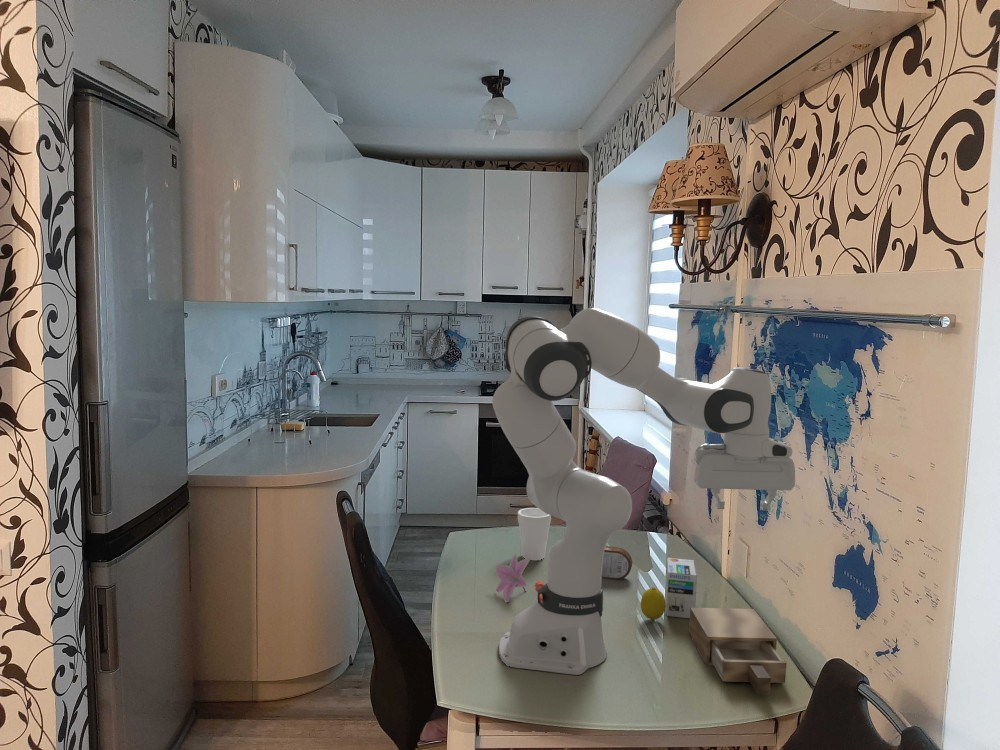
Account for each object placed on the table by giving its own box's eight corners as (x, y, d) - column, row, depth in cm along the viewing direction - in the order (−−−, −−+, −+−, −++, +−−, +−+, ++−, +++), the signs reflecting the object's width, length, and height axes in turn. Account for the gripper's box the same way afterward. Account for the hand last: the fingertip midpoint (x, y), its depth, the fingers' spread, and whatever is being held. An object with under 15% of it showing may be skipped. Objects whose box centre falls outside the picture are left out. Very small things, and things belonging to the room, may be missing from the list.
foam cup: (510, 557, 208) (511, 513, 206) (528, 548, 215) (529, 505, 214) (538, 565, 202) (540, 519, 201) (555, 555, 210) (557, 511, 209)
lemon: (662, 627, 166) (664, 593, 165) (638, 623, 167) (639, 590, 167) (666, 618, 171) (667, 585, 170) (642, 614, 173) (643, 581, 172)
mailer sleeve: (706, 664, 149) (707, 636, 148) (689, 633, 163) (690, 607, 162) (775, 666, 149) (776, 638, 148) (751, 634, 163) (753, 608, 162)
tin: (631, 578, 195) (632, 547, 194) (631, 582, 192) (632, 551, 191) (575, 572, 198) (576, 542, 197) (573, 576, 195) (574, 545, 194)
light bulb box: (695, 620, 170) (697, 575, 169) (665, 616, 171) (667, 572, 170) (692, 601, 181) (695, 559, 179) (665, 598, 182) (666, 556, 181)
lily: (495, 586, 190) (482, 560, 186) (538, 570, 189) (525, 543, 185) (502, 619, 179) (488, 592, 175) (547, 602, 179) (534, 574, 174)
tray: (731, 695, 136) (732, 675, 136) (704, 649, 154) (705, 630, 154) (795, 696, 136) (796, 676, 136) (761, 650, 154) (762, 632, 154)
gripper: (699, 446, 150) (696, 512, 152) (800, 449, 149) (796, 515, 151) (692, 440, 156) (689, 503, 158) (789, 442, 156) (785, 506, 157)
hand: (742, 509), depth 154 cm, fingers open, 8 cm apart
